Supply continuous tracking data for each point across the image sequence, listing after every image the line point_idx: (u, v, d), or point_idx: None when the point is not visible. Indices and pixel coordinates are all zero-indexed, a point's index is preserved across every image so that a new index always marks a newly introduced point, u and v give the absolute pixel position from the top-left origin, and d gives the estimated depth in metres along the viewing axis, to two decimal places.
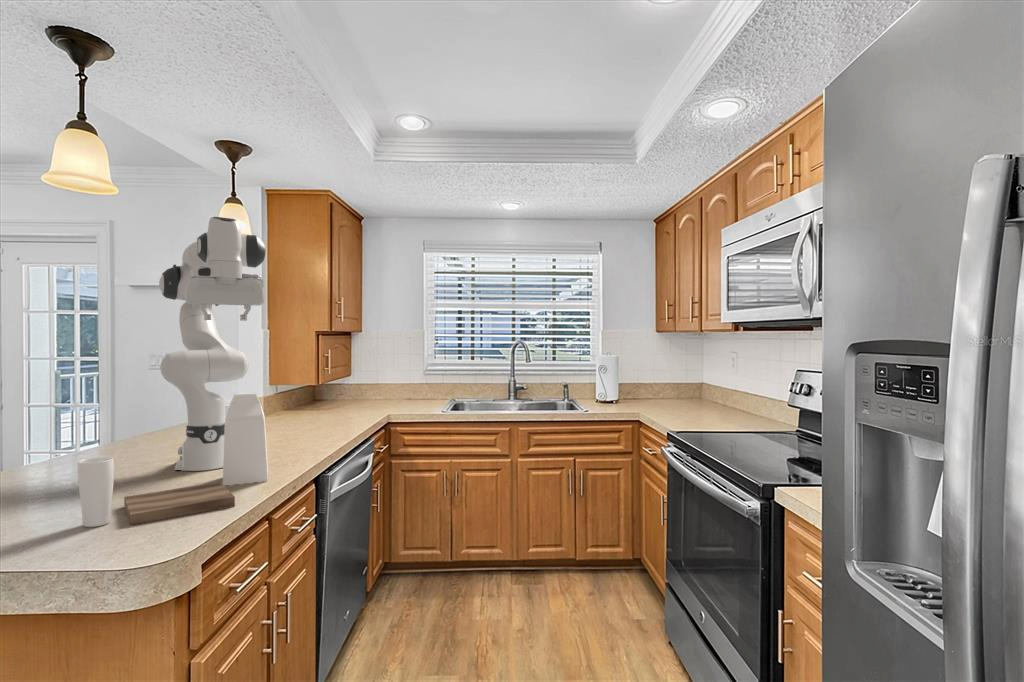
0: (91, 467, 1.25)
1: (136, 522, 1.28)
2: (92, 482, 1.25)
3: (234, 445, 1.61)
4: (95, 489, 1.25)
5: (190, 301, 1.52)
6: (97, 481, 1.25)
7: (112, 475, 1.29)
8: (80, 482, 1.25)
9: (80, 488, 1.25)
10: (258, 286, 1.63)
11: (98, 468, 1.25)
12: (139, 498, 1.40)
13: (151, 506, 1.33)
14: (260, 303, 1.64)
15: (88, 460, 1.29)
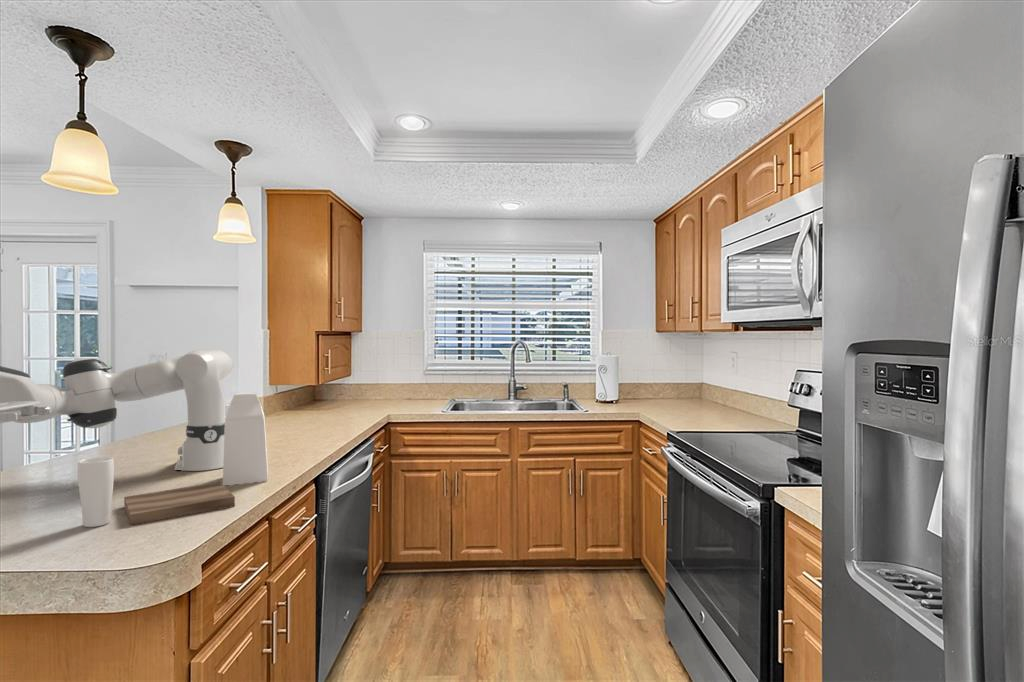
0: (91, 467, 1.25)
1: (136, 522, 1.28)
2: (92, 482, 1.25)
3: (234, 445, 1.61)
4: (95, 489, 1.25)
5: None
6: (97, 481, 1.25)
7: (112, 475, 1.29)
8: (80, 482, 1.25)
9: (80, 488, 1.25)
10: None
11: (98, 468, 1.25)
12: (139, 498, 1.40)
13: (151, 506, 1.33)
14: (38, 401, 1.35)
15: (88, 460, 1.29)
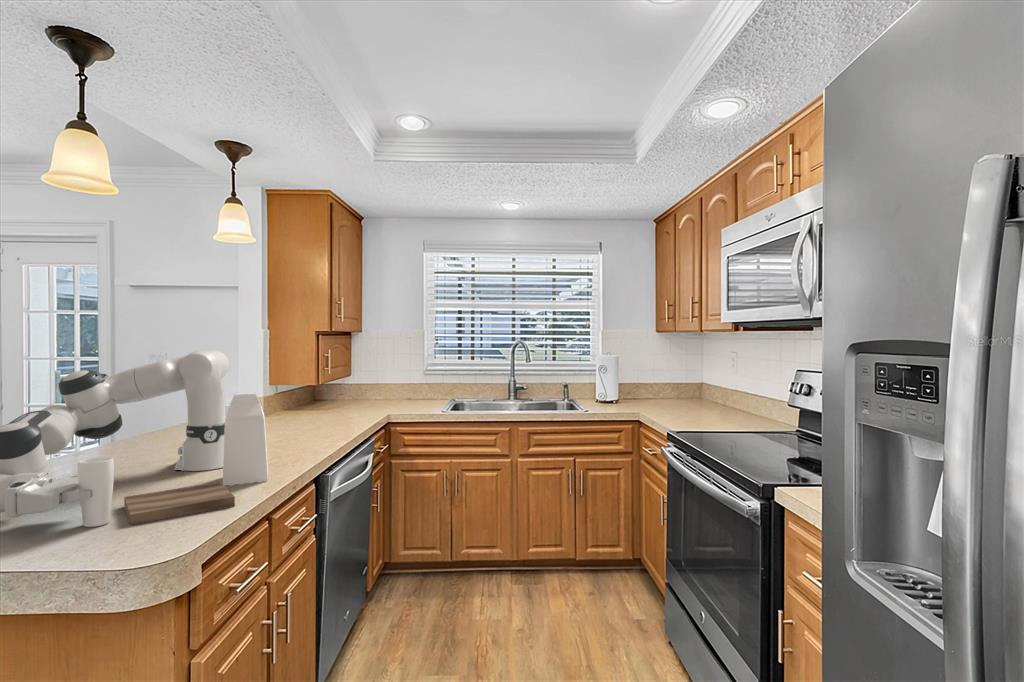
0: (91, 467, 1.25)
1: (136, 522, 1.28)
2: (92, 482, 1.25)
3: (234, 445, 1.61)
4: (95, 489, 1.25)
5: (48, 494, 1.18)
6: (97, 481, 1.25)
7: (112, 475, 1.29)
8: (80, 482, 1.25)
9: (80, 488, 1.25)
10: (77, 474, 1.35)
11: (98, 467, 1.25)
12: (139, 498, 1.40)
13: (151, 506, 1.33)
14: None
15: (88, 460, 1.29)
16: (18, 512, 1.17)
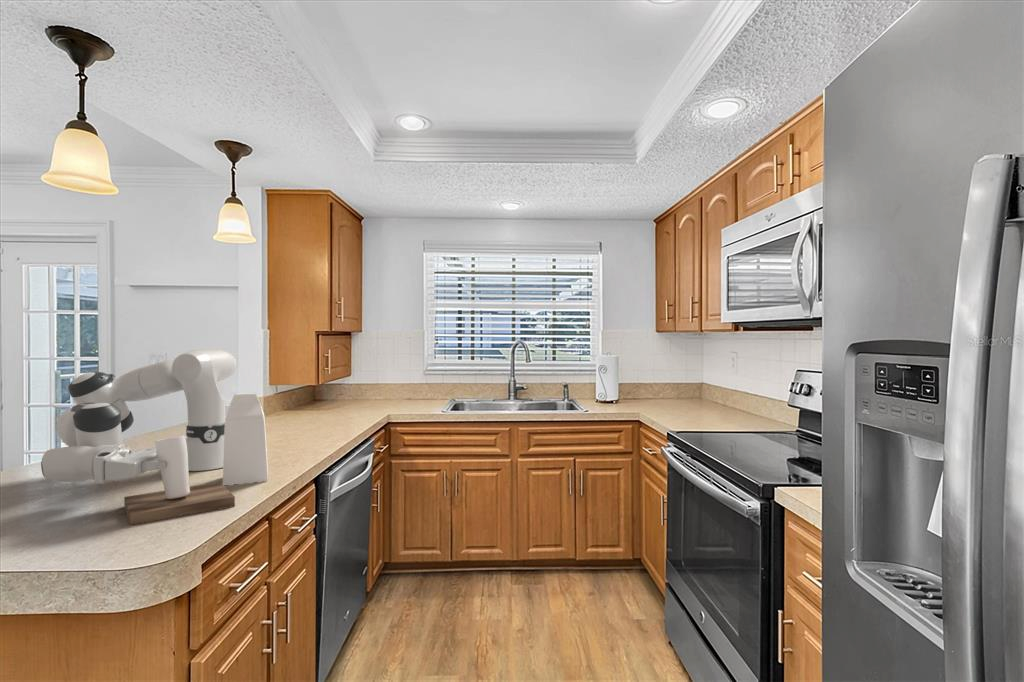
0: (167, 443, 1.37)
1: (136, 522, 1.28)
2: (170, 456, 1.37)
3: (234, 445, 1.61)
4: (173, 462, 1.37)
5: (133, 462, 1.31)
6: (174, 455, 1.37)
7: (186, 450, 1.40)
8: (159, 458, 1.37)
9: None
10: None
11: (174, 443, 1.37)
12: (139, 498, 1.40)
13: (151, 506, 1.33)
14: None
15: None
16: (106, 478, 1.30)
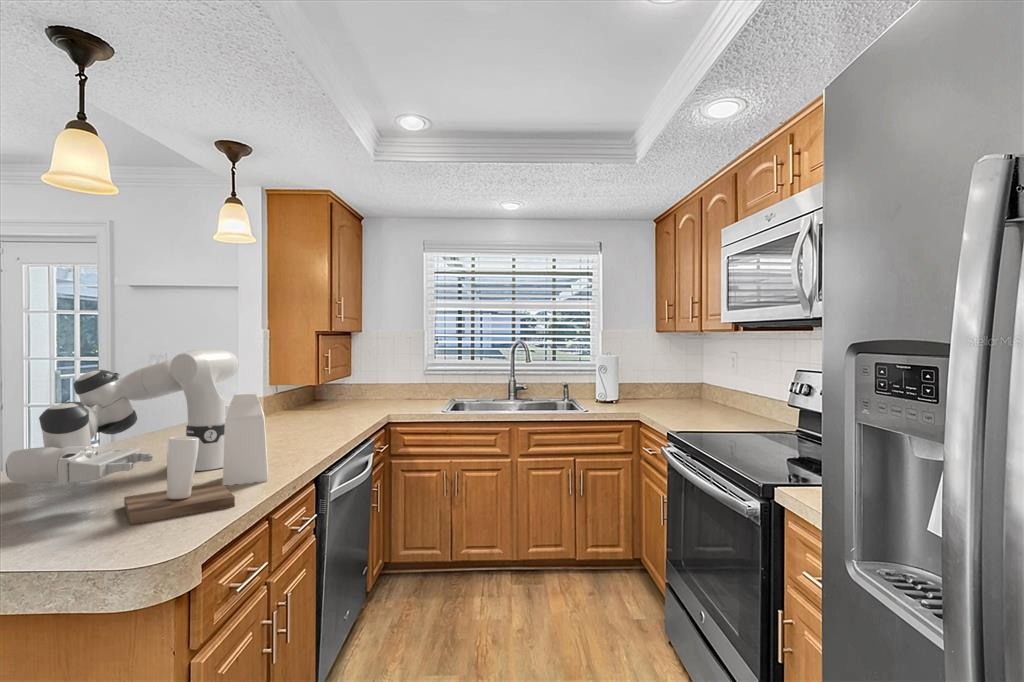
0: (181, 444, 1.37)
1: (136, 522, 1.28)
2: (180, 457, 1.37)
3: (234, 445, 1.61)
4: (182, 464, 1.37)
5: (97, 464, 1.29)
6: (185, 457, 1.37)
7: (197, 453, 1.41)
8: (170, 456, 1.37)
9: (169, 462, 1.37)
10: None
11: (187, 444, 1.38)
12: (139, 498, 1.40)
13: (151, 506, 1.33)
14: (139, 448, 1.47)
15: (176, 438, 1.41)
16: (70, 480, 1.29)
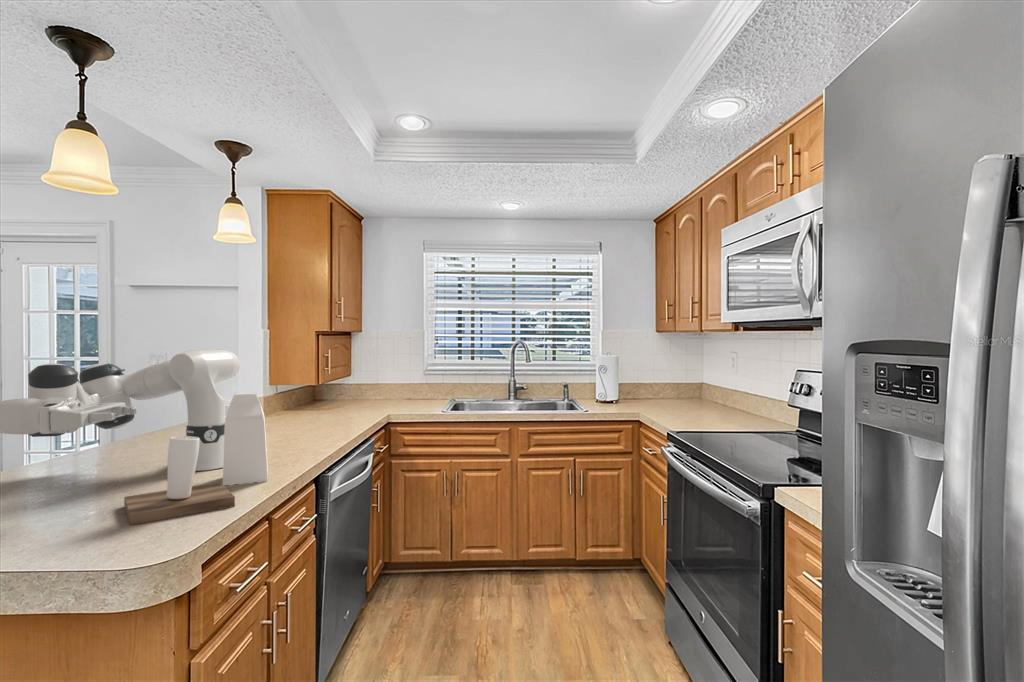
0: (182, 444, 1.37)
1: (136, 522, 1.28)
2: (181, 457, 1.37)
3: (234, 445, 1.61)
4: (183, 464, 1.37)
5: (79, 412, 1.29)
6: (186, 457, 1.37)
7: (197, 453, 1.41)
8: (170, 456, 1.37)
9: (170, 462, 1.37)
10: (102, 403, 1.45)
11: (188, 445, 1.38)
12: (139, 498, 1.40)
13: (151, 506, 1.33)
14: (123, 402, 1.47)
15: (177, 438, 1.41)
16: (51, 428, 1.28)
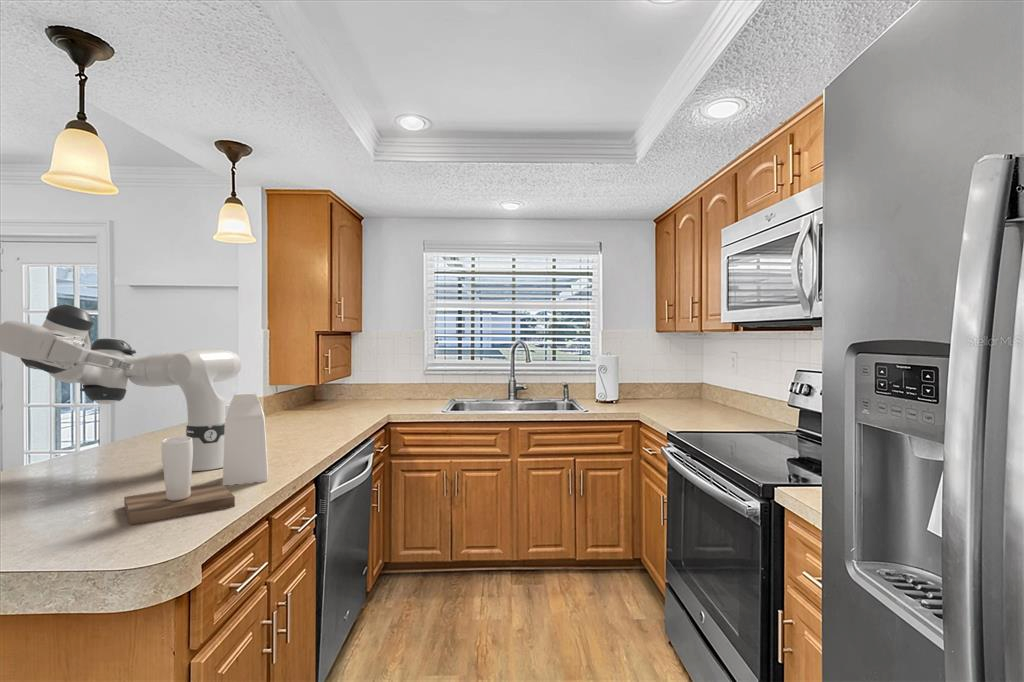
0: (175, 447, 1.35)
1: (136, 522, 1.28)
2: (176, 460, 1.35)
3: (234, 445, 1.61)
4: (179, 466, 1.36)
5: (81, 348, 1.32)
6: (180, 459, 1.36)
7: (192, 453, 1.39)
8: (165, 460, 1.35)
9: (165, 465, 1.36)
10: None
11: (181, 447, 1.36)
12: (139, 498, 1.40)
13: (151, 506, 1.33)
14: (123, 358, 1.50)
15: (169, 439, 1.39)
16: (49, 356, 1.31)
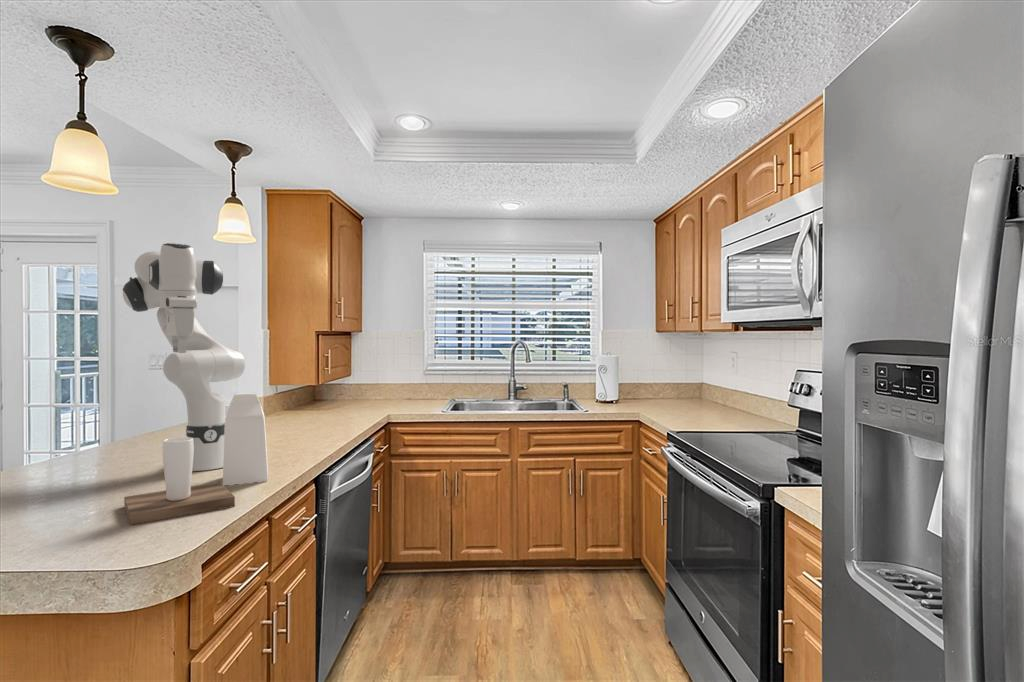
0: (176, 446, 1.36)
1: (136, 522, 1.28)
2: (177, 459, 1.36)
3: (234, 445, 1.61)
4: (180, 466, 1.37)
5: (192, 333, 1.45)
6: (181, 458, 1.37)
7: (193, 453, 1.40)
8: (166, 459, 1.36)
9: (166, 465, 1.36)
10: None
11: (183, 446, 1.37)
12: (139, 498, 1.40)
13: (151, 506, 1.33)
14: None
15: (169, 440, 1.40)
16: (175, 311, 1.43)
